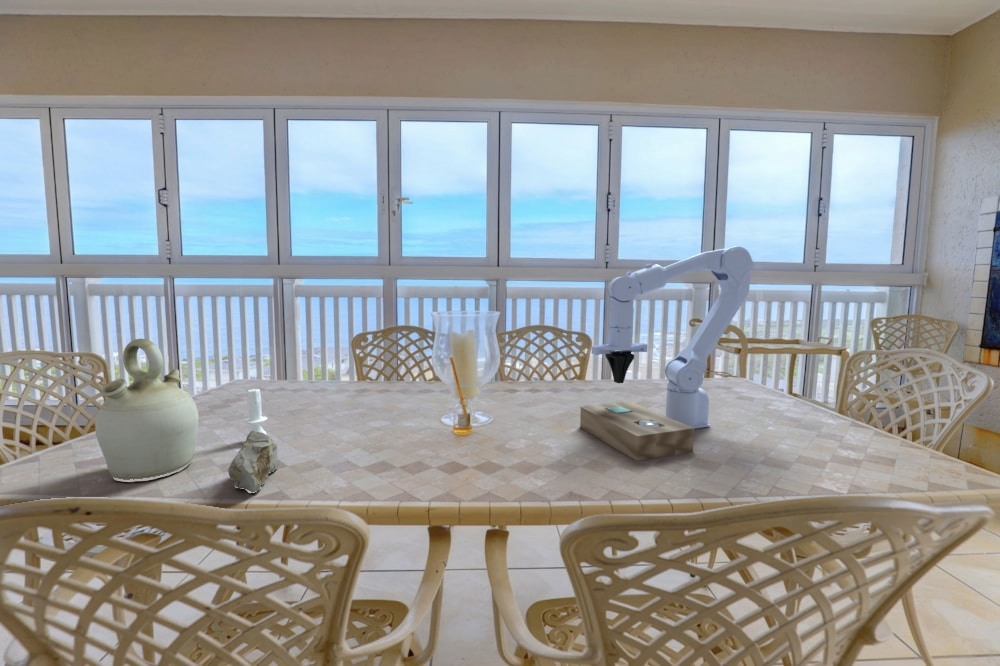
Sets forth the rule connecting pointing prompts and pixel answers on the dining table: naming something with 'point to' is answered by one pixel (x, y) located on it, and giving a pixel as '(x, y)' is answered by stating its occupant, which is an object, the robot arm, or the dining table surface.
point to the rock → (254, 462)
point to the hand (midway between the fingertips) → (618, 382)
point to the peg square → (618, 410)
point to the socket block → (637, 431)
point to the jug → (146, 419)
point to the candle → (255, 411)
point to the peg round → (648, 424)
